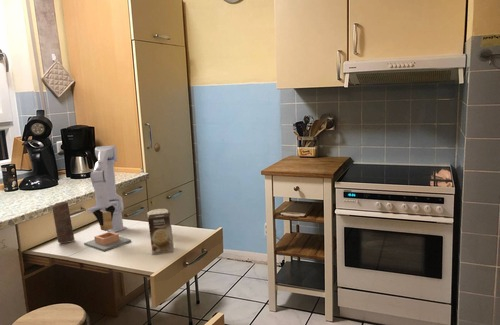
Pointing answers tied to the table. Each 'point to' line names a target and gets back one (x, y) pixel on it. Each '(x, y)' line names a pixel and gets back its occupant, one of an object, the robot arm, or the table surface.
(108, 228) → the oak peg
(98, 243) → the collar board
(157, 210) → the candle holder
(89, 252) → the table surface
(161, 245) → the coffee box
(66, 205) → the brown tall block
